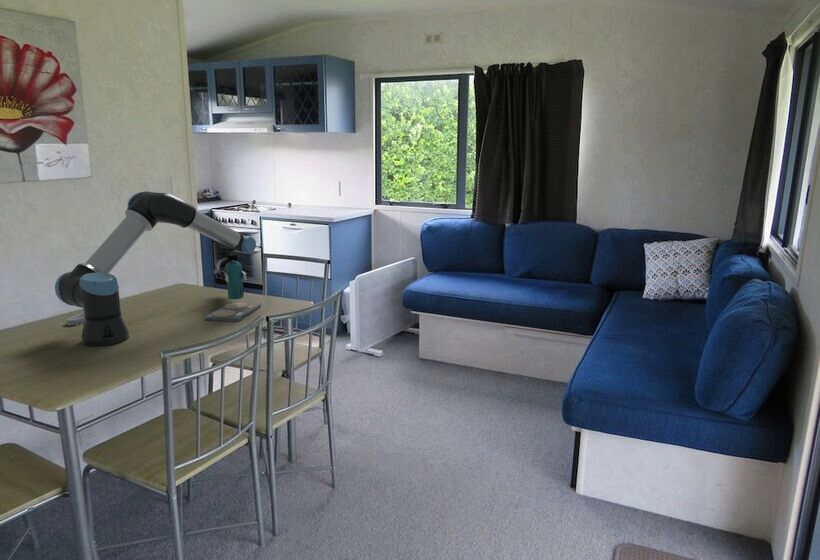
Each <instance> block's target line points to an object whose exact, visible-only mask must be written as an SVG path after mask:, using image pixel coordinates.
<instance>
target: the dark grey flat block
mask: <svg viewBox="0 0 820 560" xmlns="http://www.w3.org/2000/svg"><path fill="white" fill-rule="evenodd" d="M261 307H262V304H261V303H250V302H249V303H246V302H229V303H227V304H225V305H223V306H221V307H220V308H218V309H217V310H215V311H213V312H211V313H209V314H207V315H206V316H204V321H216V320H221V322H236V321H238V322H240V321H241V320H242V318H243V319H244V318H245V316H246V317H247V316H249V315H251V314H252V313H253V311H254V312H255V311H257V310H258V309H260V308H261ZM256 309H257V310H256ZM251 312H252V313H251ZM248 314H249V315H248ZM239 320H240V321H239Z"/></svg>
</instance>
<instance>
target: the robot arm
mask: <svg viewBox="0 0 820 560" xmlns="http://www.w3.org/2000/svg"><path fill="white" fill-rule="evenodd" d="M126 208H127V209H126V210H125V211H124V214H125V217H124V219H123V220H122V221H121V222H120V223H119V224H118V225H117V226H116V227H115V229H114V230H113V231H112V232H111V233H110V235H108V237H106V239H105V240H104V241H103V242H102V244H100V246H98V248H97V249H96V250H95V251H94V252H93V253H92V255H91V256H90V257H88V259H87V260H86V261H85V262H84V263H82V262H81V263H77V265H76V266H74V268H73V269H72V270H71V271H68V272H65V273H62V274H61V275H60V276H59V277H58V278H57V279H56V281H55V285H54V290H55V295H56V297H57V298H58V300H60V301H61V302H62V303H64V304H65V305H68V306H71V307H72V306H73V307H78V308H83V312H84V317H85V323H83V328H82V333H81V343H82V344H83V345H84V346H88V347H102V346H110V345H115V344H118V343H122V342H124V341H125V340H128V339H129V338H130V330H129V329H128V327H127V325H126V323H125V321H124V318H123V317H122V312H121V311H122V309H121V300H120V291H119V288H120V286H119V283H118V278H117V277H116V276H115V275H114V274H111V271H113V270H114V268H115V267H116V266H117V264H119V263H120V262H121V260H122V259H123V257H124V256H125V255H126V254H127V253H128V251H130V249H131V248H133V246H134V245H135V244H136V242H137V241H138V240H139V239H140V238H141V236H143V234H144V233H145V232H149V231H152V230H153V229H154V227H155V226H157V225H158V223H162V224H172V225H174V226H175V225H176V226H179V227H181V228H184V229H185V228H188V229H190V230H193V231H195V232H197V233H199V234H201V235H203V236H205V237H207V238H210V239H212V240H213V246H214V266H215V267H216V268H213V275H215V278H216V279H218V280H219V279H221V281H226V283H227V282H229V279H228V275H227V273H226V264H227V263H228V262H233V261H234V260H228V255H229V254H233V252H234V253H235V252H236V253H241V254H252V253H253V252H254V251H255V250H256V248H257V241H256V239H255V238H254V237H252V236H250V235H244V234H242V233H240V232H238V231H236V230H234V229H233V228H230V227H228V226H226V225H225V224H222V222H219V221H217V220H216V219H213V218H211V217H210V216H208V215H206V214H204V213H202V212H200V211H199V210H197V208H196V207H195V206H194V205H193V204H190V203H189V202H187V201H185V200H183V199H181V198H179V197H177V196H175V195H174V194H172V193H171V194H170V193H167V192H156V191H155V192H153V191H138V192H136V193H134V194H133V195H132V196H131V197H130V198H129V199H128V201H127V207H126ZM250 270H251V269H249V268H248V267H247V266H246V265H243V266H241V271H242V280H243V281H247V278H248V277H250V276H251V271H250Z"/></svg>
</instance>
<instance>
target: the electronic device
mask: <svg viewBox="0 0 820 560" xmlns="http://www.w3.org/2000/svg"><path fill="white" fill-rule="evenodd" d="M65 322H66V325H67V324H70V325H75V324H79V323H82V324H84V323H83V322H85V317H84V311H83V312H82V313H79V314H76V315H73V316H70V317H68V318H67V319H66V321H65ZM75 326H76V325H75Z"/></svg>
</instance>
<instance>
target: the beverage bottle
mask: <svg viewBox="0 0 820 560" xmlns="http://www.w3.org/2000/svg"><path fill="white" fill-rule="evenodd" d="M238 259H239V257H238V254H237V253H232V254H229V255H228V260H233V262H228V263H227V264H226V273H227V275H228V279H229V282H226V288H227V296H228V299H229V300H241V299H244V296H245V294H244V293H245V292H244V284H243V283H244V281H243V278H242V271H241V267H242V264H241V262H239V261H237V260H238Z"/></svg>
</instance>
